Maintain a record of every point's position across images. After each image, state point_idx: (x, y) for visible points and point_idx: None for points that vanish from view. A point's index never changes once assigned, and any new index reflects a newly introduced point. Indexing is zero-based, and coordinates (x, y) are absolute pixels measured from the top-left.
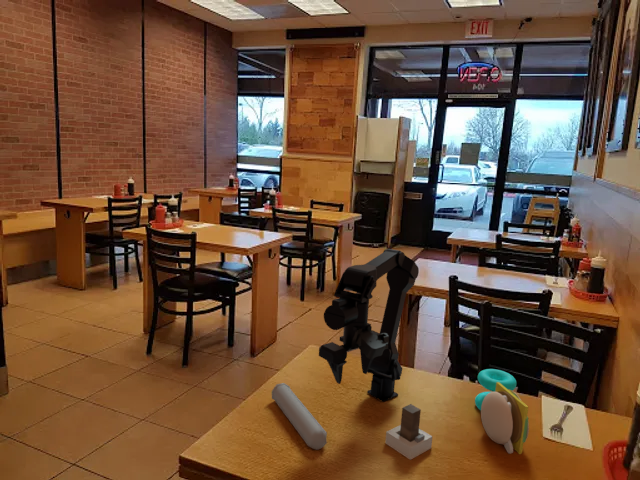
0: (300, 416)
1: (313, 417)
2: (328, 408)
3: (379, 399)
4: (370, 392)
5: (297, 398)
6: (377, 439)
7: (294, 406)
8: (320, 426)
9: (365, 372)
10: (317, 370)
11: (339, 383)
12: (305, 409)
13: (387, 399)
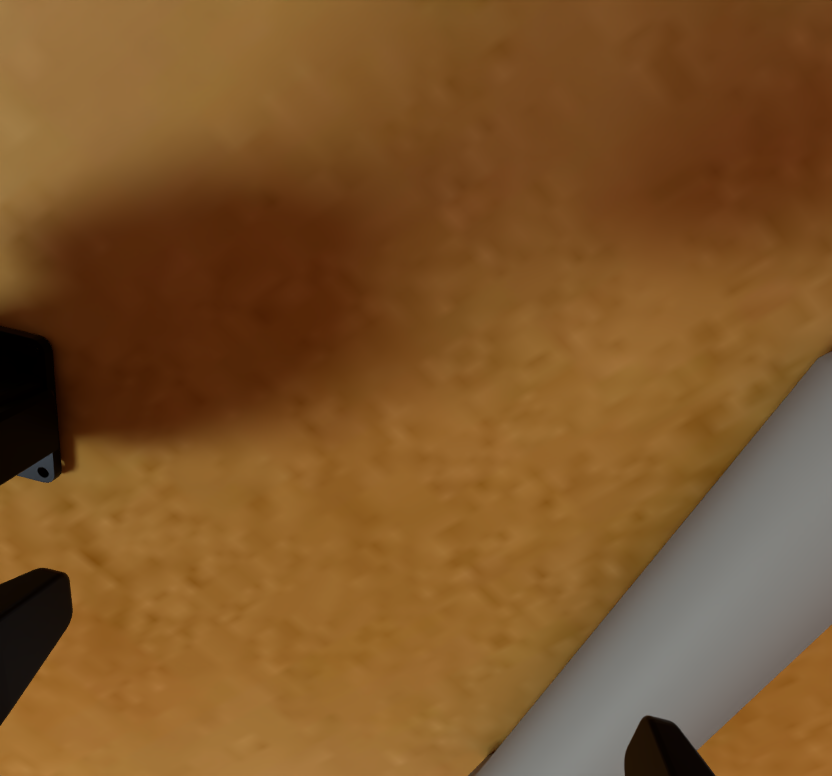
0: (812, 638)
1: (719, 565)
2: (391, 555)
3: (51, 372)
4: (44, 458)
5: (562, 747)
6: (478, 82)
7: (717, 726)
8: (828, 461)
9: (46, 595)
10: (128, 768)
11: (679, 728)
12: (686, 656)
13: (3, 329)
